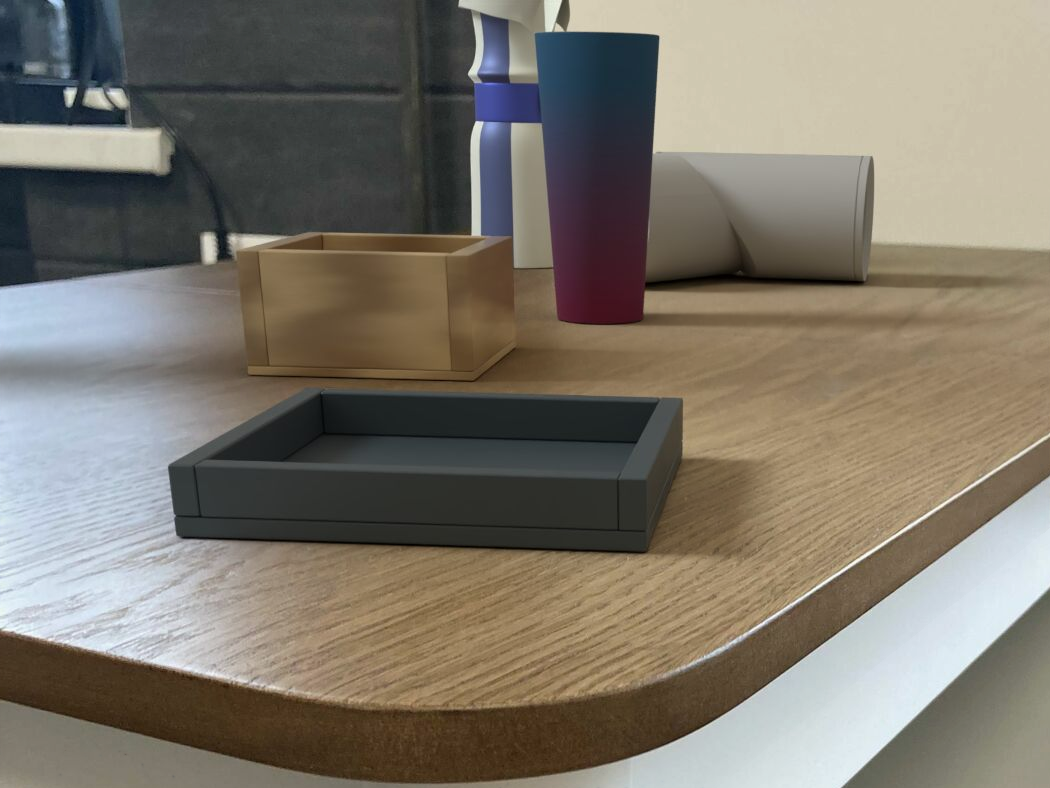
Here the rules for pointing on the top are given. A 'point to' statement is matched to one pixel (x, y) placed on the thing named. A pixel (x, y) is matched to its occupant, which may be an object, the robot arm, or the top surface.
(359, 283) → the holder
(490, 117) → the water bottle
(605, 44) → the cup
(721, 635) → the top surface
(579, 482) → the tray
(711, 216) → the bent grey cylinder
